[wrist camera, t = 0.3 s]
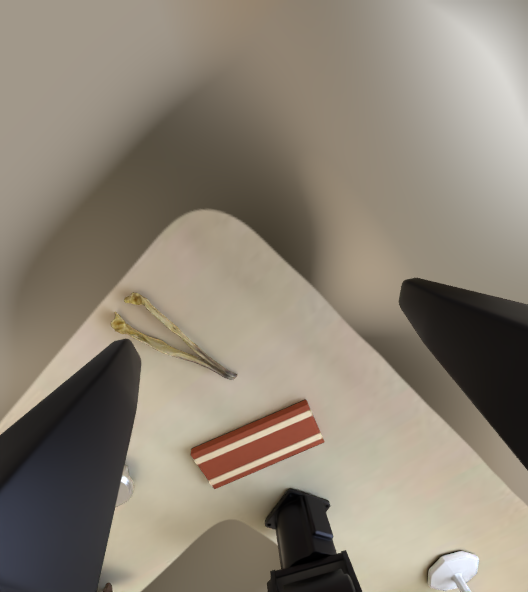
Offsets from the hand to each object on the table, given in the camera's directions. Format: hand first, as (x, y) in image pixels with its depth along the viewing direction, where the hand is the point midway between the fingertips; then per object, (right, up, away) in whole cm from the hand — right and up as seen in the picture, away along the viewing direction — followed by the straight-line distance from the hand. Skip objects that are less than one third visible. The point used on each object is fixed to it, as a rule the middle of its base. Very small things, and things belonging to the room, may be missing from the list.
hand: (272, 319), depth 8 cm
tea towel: (-1, -16, +21) cm, 27 cm away
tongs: (-8, -3, +17) cm, 19 cm away
